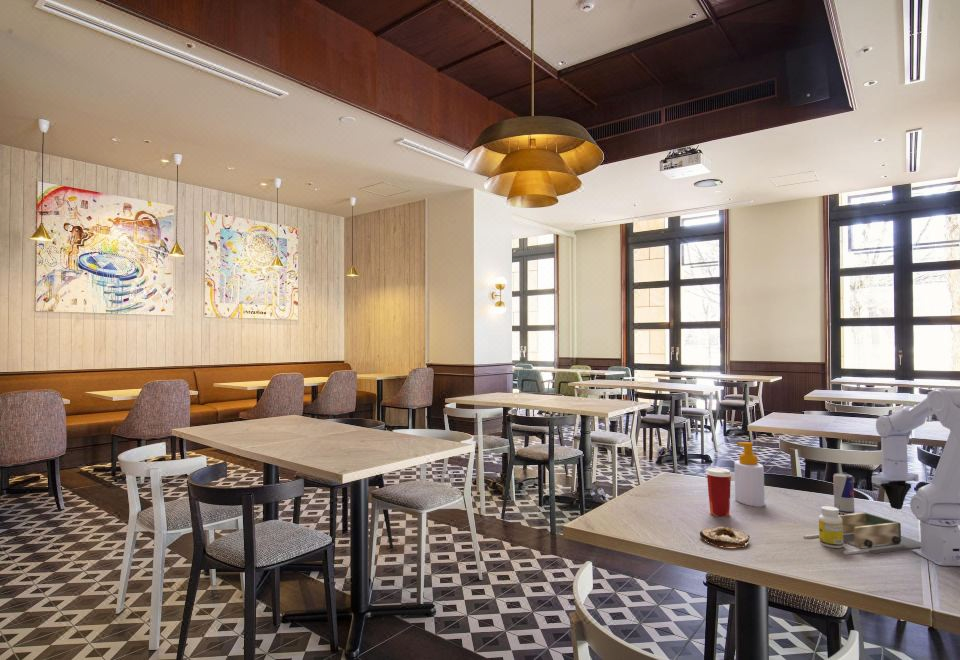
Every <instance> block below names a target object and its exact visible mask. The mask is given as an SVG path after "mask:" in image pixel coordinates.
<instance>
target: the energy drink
mask: <svg viewBox="0 0 960 660" xmlns="http://www.w3.org/2000/svg"><path fill="white" fill-rule="evenodd" d="M832 477H833V479H832V480H833V503H834V504H833V507H835V508H838V509H839V513H840V514H839V515H843V514H844V515H845V514H855V489H854V488H855V487H854V478H853V475H851V474H848V473H841V472H840V473H839V472H837V473H834V474H833V476H832Z"/></svg>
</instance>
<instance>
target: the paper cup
mask: <svg viewBox="0 0 960 660" xmlns="http://www.w3.org/2000/svg"><path fill="white" fill-rule="evenodd" d="M705 475H706V477H707V478H706V479H707V492H708V493H707V494H708V501H709V502H708V503H709V504H708V505H709V511H710V512H709V513H710V515H712V514H713V515H712V516H715V515H717V516H716V517H721V516H726V517H729V516H730V510H731V509H730V508H731V507H730V506H731V480H732V479H731V478H732V473H731V470H730V469H727V468H723V467H722V468H721V467H710V468H708V469H707V470H706V471H705Z"/></svg>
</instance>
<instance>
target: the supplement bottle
mask: <svg viewBox="0 0 960 660" xmlns="http://www.w3.org/2000/svg"><path fill="white" fill-rule="evenodd" d="M820 509H821V514H820V515H819V516H818V531H819V533H818V534H819V537H818V538H819V543H820V545H821V546H824V547H827V548H831V549H841V548H843V547H844V542H843V524H842V519H841V518H840V517H839V516H838V515H840V514H839V509H838V508H835V507H834V506H828V505H827V506H825V505H823V506H821V507H820Z"/></svg>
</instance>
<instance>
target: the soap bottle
mask: <svg viewBox="0 0 960 660" xmlns="http://www.w3.org/2000/svg"><path fill="white" fill-rule="evenodd" d="M736 445H737V446H740V447H741V446H743V452H742V453H741V454H740V455H739V456H738V457H739V458H738V459H737V460H735V461H733V463H734V464H733V465H734V469H733V470H734V498H735V500H736V501H737V502H738V503H740V504H742V503H743V505H745V506H748V505H749V506H748V507H753V506H754V507H755V508H759V507H764V506H765V504H766V503H765V501H766V500H765V468H764V465H763V464H761V463H759V461H758V459H759V458H758V456H757V455H756V454H754V453H753V442H750V441H749V442H748V441H744V442H742V441H741V442H740V441H739V442H737V443H736Z"/></svg>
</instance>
